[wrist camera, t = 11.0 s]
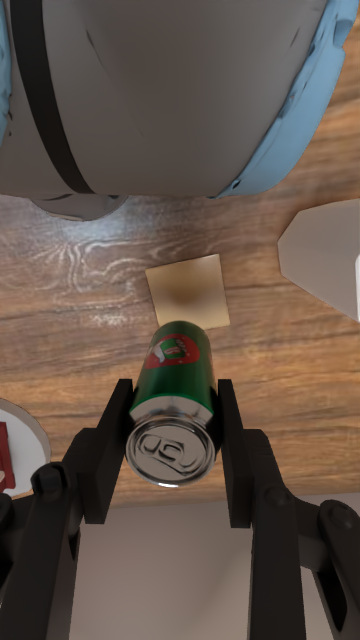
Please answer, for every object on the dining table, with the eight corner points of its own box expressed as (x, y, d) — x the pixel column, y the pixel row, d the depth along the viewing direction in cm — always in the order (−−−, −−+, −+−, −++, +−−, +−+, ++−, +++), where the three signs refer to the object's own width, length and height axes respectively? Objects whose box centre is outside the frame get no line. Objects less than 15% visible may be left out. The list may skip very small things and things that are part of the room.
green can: (193, 379, 25) (194, 507, 14) (142, 356, 25) (100, 470, 13) (220, 333, 24) (246, 435, 12) (166, 307, 23) (141, 390, 12)
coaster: (145, 268, 37) (144, 269, 37) (218, 253, 36) (218, 254, 36) (161, 336, 41) (161, 337, 40) (229, 323, 39) (230, 324, 39)
